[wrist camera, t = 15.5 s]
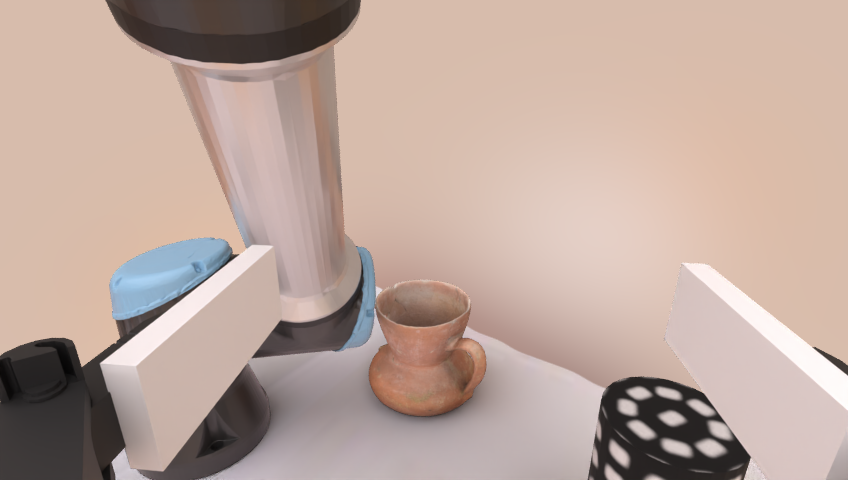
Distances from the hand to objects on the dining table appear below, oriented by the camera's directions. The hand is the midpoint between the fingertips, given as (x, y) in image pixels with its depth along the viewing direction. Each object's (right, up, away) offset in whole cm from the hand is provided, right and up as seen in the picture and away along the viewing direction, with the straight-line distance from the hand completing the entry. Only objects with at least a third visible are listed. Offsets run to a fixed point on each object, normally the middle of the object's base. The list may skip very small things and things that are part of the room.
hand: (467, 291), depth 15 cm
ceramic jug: (-1, -19, +46) cm, 50 cm away
